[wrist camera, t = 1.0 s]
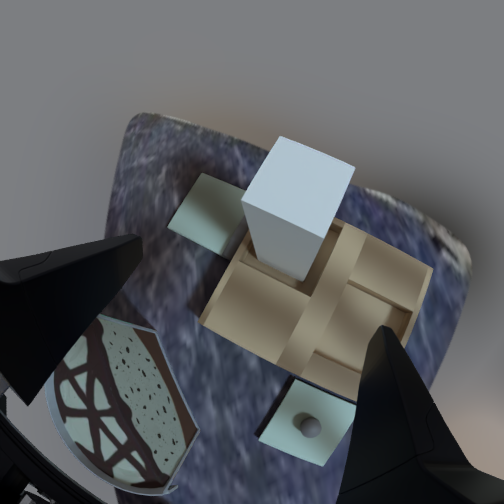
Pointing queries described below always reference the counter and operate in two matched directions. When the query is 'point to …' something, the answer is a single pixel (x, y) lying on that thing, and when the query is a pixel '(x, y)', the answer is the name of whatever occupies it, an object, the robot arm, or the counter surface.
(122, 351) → the food container
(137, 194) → the counter surface
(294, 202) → the tall white block
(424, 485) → the robot arm
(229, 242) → the puzzle board
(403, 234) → the counter surface
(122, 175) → the counter surface
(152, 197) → the counter surface
